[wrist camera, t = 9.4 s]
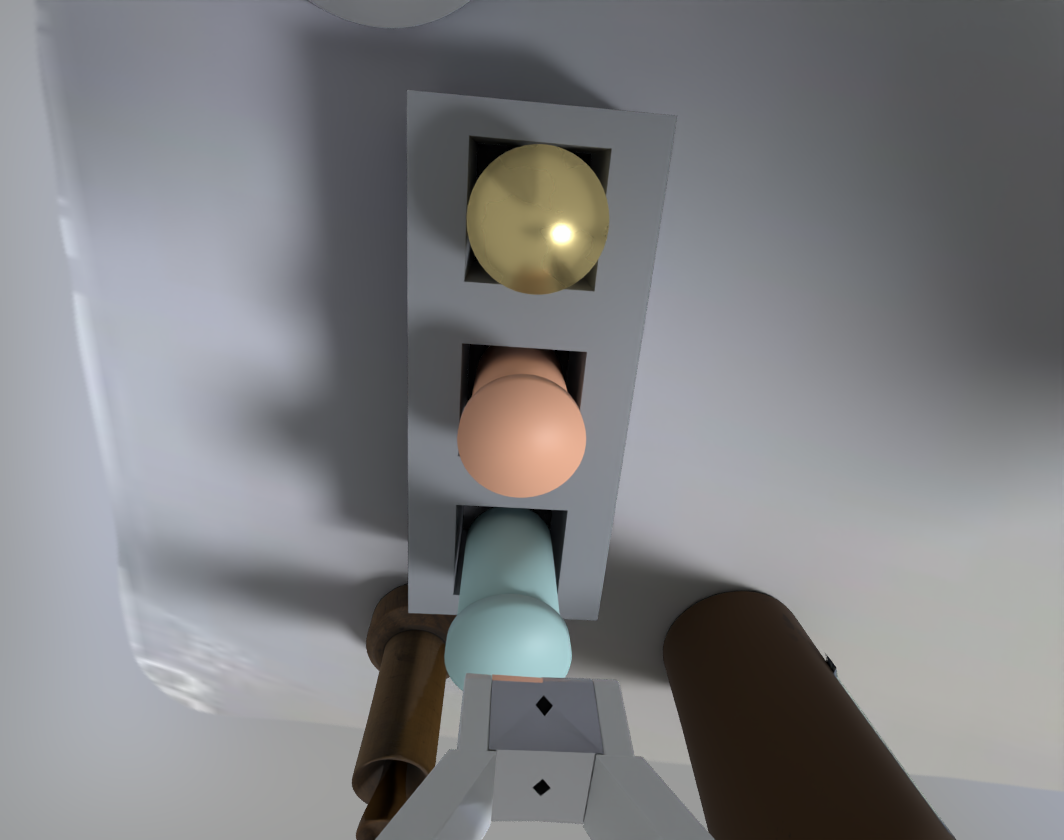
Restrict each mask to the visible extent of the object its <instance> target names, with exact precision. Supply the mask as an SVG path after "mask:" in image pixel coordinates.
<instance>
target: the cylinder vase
mask: <svg viewBox="0 0 1064 840" xmlns="http://www.w3.org/2000/svg"><path fill="white" fill-rule="evenodd" d="M308 1H310V2H311V3H313V4H315V5H316V6H318V7H319V8H321V9H323V10H325V11H327V12H329V13H331V14H333V15H335V16H337V17H340V18H342V19H345V20H347V21H350V22H354V23H357V24H361V25H365V26H371V27H378V28H407V27H414V26H419V25H423V24H427V23H430V22H433V21H436V20H438V19H441V18H443V17H445V16H447V15H449V14H451V13H453V12H455V11H456V10H458V9H459V8H461V7H462V6H464V5H465V4H467V3H468V2H469V1H471V0H308Z"/></svg>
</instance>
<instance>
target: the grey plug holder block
mask: <svg viewBox="0 0 1064 840" xmlns="http://www.w3.org/2000/svg"><path fill="white" fill-rule="evenodd" d="M676 122H677V116H675V115H665V114H654V113H644V112H634V111H623V110H613V109H602V108H592V107H581V106H571V105H560V104H550V103H540V102H529V101H519V100H508V99H498V98H487V97H477V96H466V95H456V94H446V93H435V92H425V91H414V90H407V333H408V613H422V614H447V615H457V612H458V604H459V596H460V587H461V579H462V571H463V563H464V554H465V546H466V538H467V533H468V530H465V529H462V521H463V505H470V506H490V507H509V508H529V509H548V510H552V519H551V528H550V534H551V542H552V551H553V560H554V568H555V577H556V586H557V595H558V604H559V613H560V615H561V617H562V618H563V619H574V620H598V614H599V608H600V601H601V595H602V589H603V582H604V576H605V570H606V564H607V557H608V551H609V545H610V538H611V532H612V526H613V519H614V513H615V507H616V500H617V494H618V488H619V481H620V475H621V469H622V463H623V456H624V450H625V444H626V437H627V431H628V425H629V418H630V412H631V406H632V399H633V393H634V387H635V380H636V374H637V368H638V361H639V355H640V349H641V343H642V336H643V330H644V324H645V317H646V311H647V305H648V298H649V292H650V286H651V279H652V273H653V267H654V260H655V254H656V248H657V242H658V235H659V229H660V223H661V216H662V210H663V204H664V197H665V191H666V185H667V178H668V172H669V166H670V159H671V153H672V147H673V140H674V134H675V128H676ZM477 144H488V145H499V146H510V147H521V146H524V145H531V144H546V145H552V146H556V147H560V148H563V149H565V150H567V151H569V152H576V153H587V154H591V163H590V168H591V169H592V171H593V172H594V173H595V174H596V176H597V178H598V179H599V181H600V183H601V185H602V187H603V189H604V192H605V195H606V198H607V202H608V208H609V230H608V235H607V240H606V243H605V246H604V249H603V251H602V253H601V255H600V257H599V259H598V260H597V262H596V264H595V265H594V266H593V267H592V269H591V270H590V271H589V272H588V273H587V274H586V275H585V276H584V277H583V278H582V279H580V280H579V281H578V282H576V283H575V284H573V285H572V286H570V287H568V288H566V289H563V290H561V291H558V292H554V293H550V294H543V295H532V294H525V293H521V292H517V291H514V290H512V289H509V288H507V287H505V286H504V285H502V284H500V283H499V282H497V281H496V280H495V279H493V278H492V277H491V276H490V275H489V274H488V273H487V272H486V271H485V270H484V268H483V267H482V266H481V264H480V263H479V262H473V250H472V247H471V244H470V241H469V237H468V231H467V208H468V203H469V199H470V195H471V193H472V190H473V187H474V186H475V184H476V170H477ZM470 344H480V345H494V346H509V347H523V348H538V349H552V350H567V351H570V354H569V363H568V373H567V382H566V388H567V392H568V393H569V394H570V395H571V397H572V398H573V399H574V401H575V402H576V404H577V406H578V407H579V410H580V412H581V415H582V418H583V422H584V426H585V430H586V447H585V452H584V455H583V458H582V461H581V463H580V464H579V466H578V468H577V469H576V471H575V472H574V474H573V475H572V476H571V477H570V478H569V479H568V480H567V481H566V482H565V483H563V484H562V485H561V486H559V487H557V488H556V489H554V490H552V491H550V492H548V493H545V494H542V495H538V496H534V497H526V498H516V497H508V496H504V495H500V494H497V493H495V492H492V491H490V490H488V489H486V488H485V487H483V486H482V485H480V484H479V483H478V482H477V481H476V480H474V478H473V477H472V476H471V475H470V474H469V473H468V471H467V470H466V468H465V467H464V465H463V463H462V461H461V458H460V455H459V451H458V446H457V435H458V428H459V423H460V419H461V415H462V412H463V410H464V408H465V406H466V404H467V396H468V371H469V345H470Z"/></svg>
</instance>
